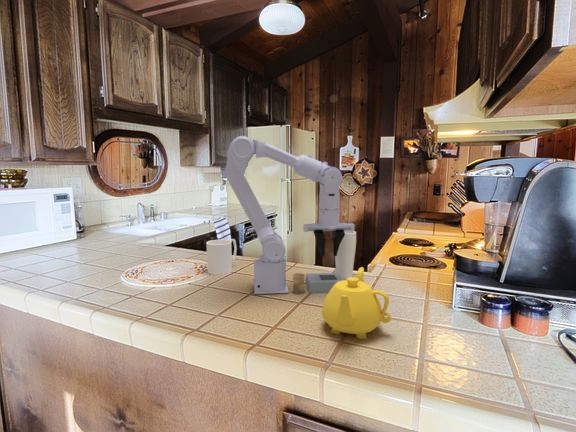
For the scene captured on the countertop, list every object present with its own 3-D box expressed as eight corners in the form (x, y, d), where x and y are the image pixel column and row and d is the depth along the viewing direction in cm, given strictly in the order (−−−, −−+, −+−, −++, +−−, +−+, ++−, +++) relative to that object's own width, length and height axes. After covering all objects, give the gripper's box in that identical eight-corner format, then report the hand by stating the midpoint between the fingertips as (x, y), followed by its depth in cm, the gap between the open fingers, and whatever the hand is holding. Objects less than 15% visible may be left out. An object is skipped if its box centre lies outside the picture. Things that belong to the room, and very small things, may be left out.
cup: (244, 267, 120) (244, 239, 118) (218, 276, 110) (217, 246, 109) (228, 263, 125) (228, 236, 123) (202, 271, 115) (201, 242, 114)
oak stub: (293, 294, 95) (293, 277, 95) (292, 290, 98) (292, 273, 98) (305, 293, 96) (305, 276, 95) (303, 289, 99) (303, 273, 98)
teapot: (384, 360, 63) (387, 301, 62) (308, 344, 69) (309, 289, 67) (394, 316, 82) (397, 269, 80) (334, 306, 87) (335, 262, 86)
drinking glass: (354, 281, 105) (356, 234, 103) (332, 280, 107) (333, 233, 104) (355, 274, 112) (356, 229, 110) (334, 273, 113) (335, 229, 111)
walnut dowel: (323, 266, 98) (324, 239, 97) (322, 263, 101) (322, 237, 100) (334, 266, 98) (335, 239, 97) (332, 263, 101) (333, 237, 100)
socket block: (309, 292, 96) (309, 282, 96) (305, 283, 104) (305, 273, 104) (344, 291, 97) (344, 281, 97) (337, 282, 105) (338, 272, 105)
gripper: (305, 211, 93) (305, 259, 95) (358, 210, 94) (356, 258, 96) (302, 207, 100) (302, 253, 102) (351, 207, 101) (349, 252, 103)
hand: (328, 255), depth 99 cm, fingers closed on walnut dowel, 3 cm apart
